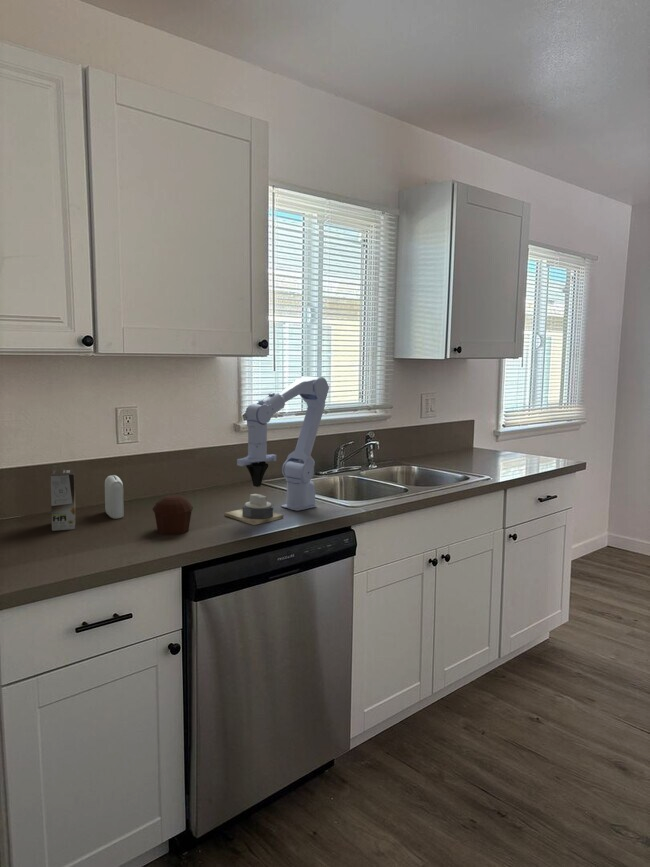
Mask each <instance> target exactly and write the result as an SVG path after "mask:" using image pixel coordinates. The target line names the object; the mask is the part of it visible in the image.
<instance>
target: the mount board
mask: <svg viewBox="0 0 650 867" xmlns="http://www.w3.org/2000/svg"><path fill="white" fill-rule="evenodd" d="M224 516H225V517H228V518H231V519H233V520H236V521H240V522H243V523H246V524H249V525H252V526H255V525H259V524H265V523H268V522H273V521H277V520H282V519H284V514H281V513H277V512H274V511H273V517H271V518H266V519H249V518H246V517H243V508H241V509H237V510H231V511H226V512H224Z"/></svg>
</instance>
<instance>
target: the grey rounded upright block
mask: <svg viewBox="0 0 650 867" xmlns="http://www.w3.org/2000/svg"><path fill="white" fill-rule="evenodd" d="M104 502H105V503H104V506H105V508H104V510H105V513H106V514H107V515H108V516H109V518H111V519H121V518H123V517H124V515H125V514H124V483H123V481H122V479H121V478H120V477H119V476H117V475H116V474H113V475H108V476H107V477H106V478H105V480H104Z"/></svg>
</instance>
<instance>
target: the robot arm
mask: <svg viewBox="0 0 650 867" xmlns="http://www.w3.org/2000/svg"><path fill="white" fill-rule="evenodd" d="M329 391H330V387H329V383H328V381H327V379H326V378H325V377H323V376H320V377H319V376H309V375H308V376H307V375H299V376H298V377H297V378H295V379H294V381H293V382H291V384H289V385H288V386H287V387H286V388H284V389H283V390H282V391H280V392H279V393H278V392H269V393H268V396H266V397H265V398H262V399H260V400H258V402H257V403H251V404H249V405H248V406H247V407H246V409H245V412H244V413H243V414H244V415H243V416H244V419H245V421H246V426H247V427H248V428H247V432H248V434H247V455H246V456H244V457H242V458H237V459H236V466H239V467H244V466H245V467H246V469H247V471H248V472H249V474H250V479H251V481H252V485H253V487H256V488H259V487H261V486H262V482H263V479H264V477H265V476H264V475H265V473H266V471H267V469H268V468H269V463H270V462H277V454H271V453H270V454H267V452H268V451H267V449H268V446H267V445H268V441H267V440H268V423H270V421H271V419H272V416H274V415H275V414H277V413H278V412H280V411H281V410H282V409H285V408H284V407H286V406H285V405H286V403H287V402H290V400H292V399H294V398H297V397H298V396H300V397H301V399H302V400H303V401H304V402H305V403H306V405H307V408H306V411H305V414H304V415H305V416H304V418H303V422H302V425H301V428H300V432H299V435H298V438H297V443H296V446H295V449H294V450H293V451H292V452H290V453H288V455H287V458H286V460H285V461H284V462H283V464H282V467H281V472H282V476H283V477H284V478H285V481H286V503H285V504H281V505H280V507H281V508H286V509H287V510H288V509H289V510H293V511H296V512H298V511H303V510H307V509H313V508H316V507H317V506H318V505H317V504H316V485H315V483H314V481H312V480H313V478H314V474H315V465H316V461H315V459H314V458H313V457H312V456H311V455H312V451H313V449H314V444H315V442H316V437H317V434H318V431H319V428H320V424H321V421H322V417H323V414H324V411H325V406H326V400H327V396H328V394H329ZM267 462H269V463H267Z"/></svg>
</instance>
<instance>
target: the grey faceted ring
mask: <svg viewBox="0 0 650 867" xmlns="http://www.w3.org/2000/svg"><path fill="white" fill-rule="evenodd" d="M242 509H243V517H246V518H249V519H266V518H271V517H273V512H274V504H272V503H271V507H269V508H265V509H252V508H247V507H246V506H245V503H243V506H242Z"/></svg>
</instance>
